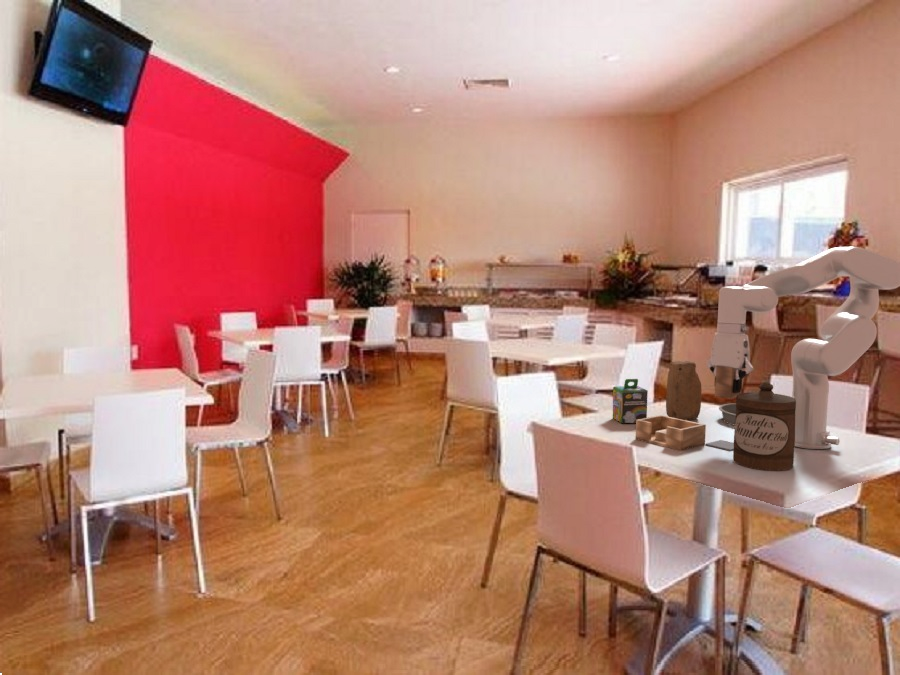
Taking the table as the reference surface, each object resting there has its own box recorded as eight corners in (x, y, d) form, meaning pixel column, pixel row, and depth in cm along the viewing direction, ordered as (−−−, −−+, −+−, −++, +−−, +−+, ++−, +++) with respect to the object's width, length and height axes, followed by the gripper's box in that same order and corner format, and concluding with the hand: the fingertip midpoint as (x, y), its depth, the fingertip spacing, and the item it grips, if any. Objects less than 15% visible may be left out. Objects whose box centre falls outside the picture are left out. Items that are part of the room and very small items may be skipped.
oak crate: (704, 444, 203) (705, 424, 202) (680, 450, 196) (681, 430, 195) (659, 433, 216) (660, 415, 215) (635, 439, 209) (636, 419, 208)
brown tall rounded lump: (672, 420, 234) (674, 363, 232) (663, 416, 242) (665, 360, 240) (702, 420, 235) (705, 363, 233) (693, 415, 243) (695, 360, 241)
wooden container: (726, 464, 183) (730, 383, 180) (741, 452, 194) (745, 376, 192) (786, 474, 174) (791, 389, 171) (798, 462, 185) (803, 382, 183)
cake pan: (703, 420, 237) (703, 407, 237) (746, 412, 250) (746, 400, 250) (768, 435, 217) (769, 421, 216) (811, 425, 230) (812, 412, 229)
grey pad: (745, 446, 201) (745, 445, 201) (730, 450, 196) (730, 449, 196) (720, 441, 207) (720, 439, 207) (705, 445, 202) (705, 443, 202)
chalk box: (636, 417, 239) (638, 376, 237) (647, 423, 230) (649, 380, 228) (611, 418, 238) (612, 376, 236) (621, 424, 229) (622, 380, 227)
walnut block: (739, 397, 199) (741, 366, 199) (730, 398, 197) (732, 368, 196) (724, 394, 203) (725, 364, 203) (714, 396, 201) (716, 365, 200)
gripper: (766, 331, 193) (762, 394, 195) (712, 326, 207) (709, 385, 209) (751, 332, 189) (747, 397, 191) (697, 327, 203) (694, 387, 204)
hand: (727, 390), depth 200 cm, fingers closed on walnut block, 5 cm apart
